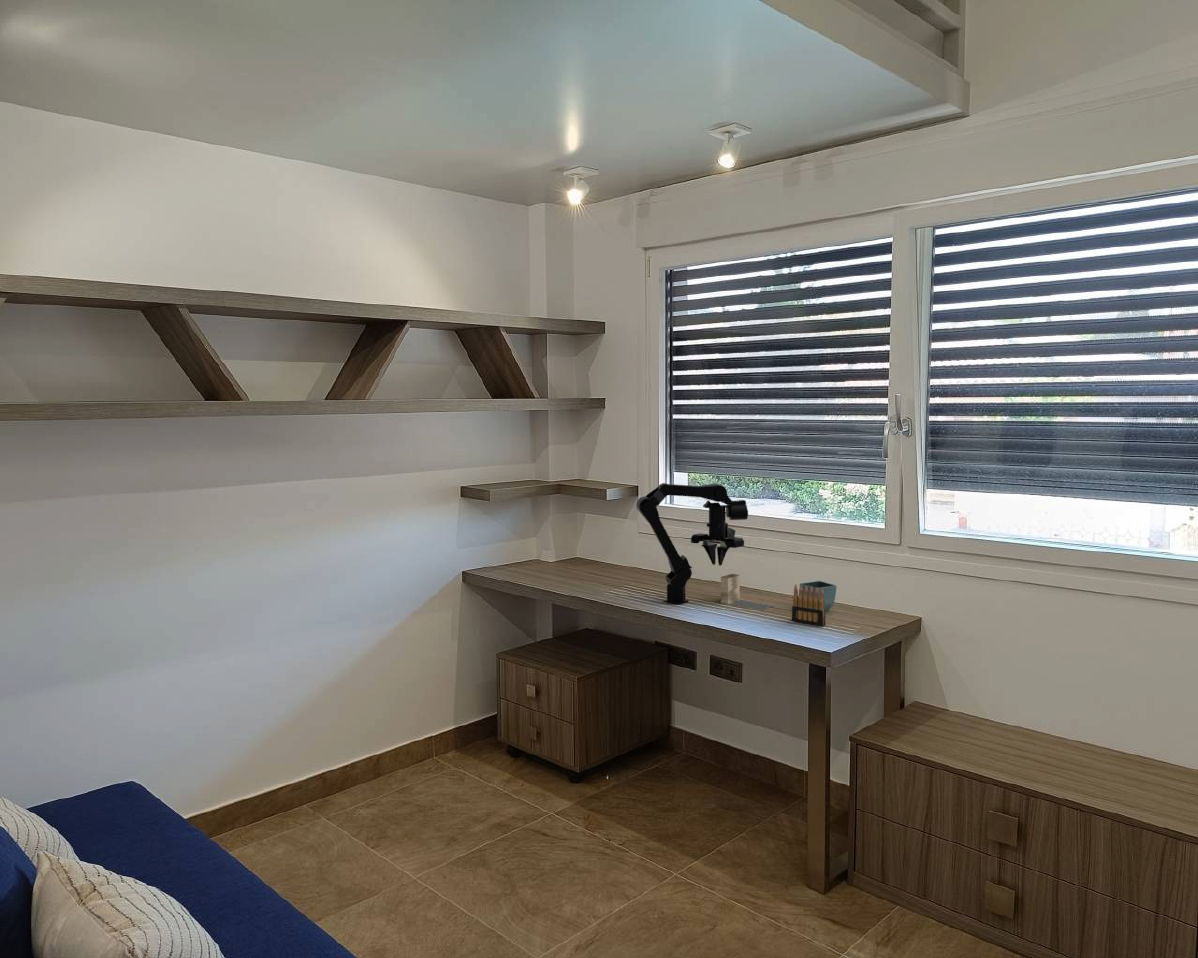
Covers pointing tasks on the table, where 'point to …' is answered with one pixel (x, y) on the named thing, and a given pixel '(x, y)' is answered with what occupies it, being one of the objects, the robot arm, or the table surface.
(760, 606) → the mat
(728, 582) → the slab
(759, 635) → the table surface
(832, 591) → the flower pot
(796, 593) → the ammunition clip
